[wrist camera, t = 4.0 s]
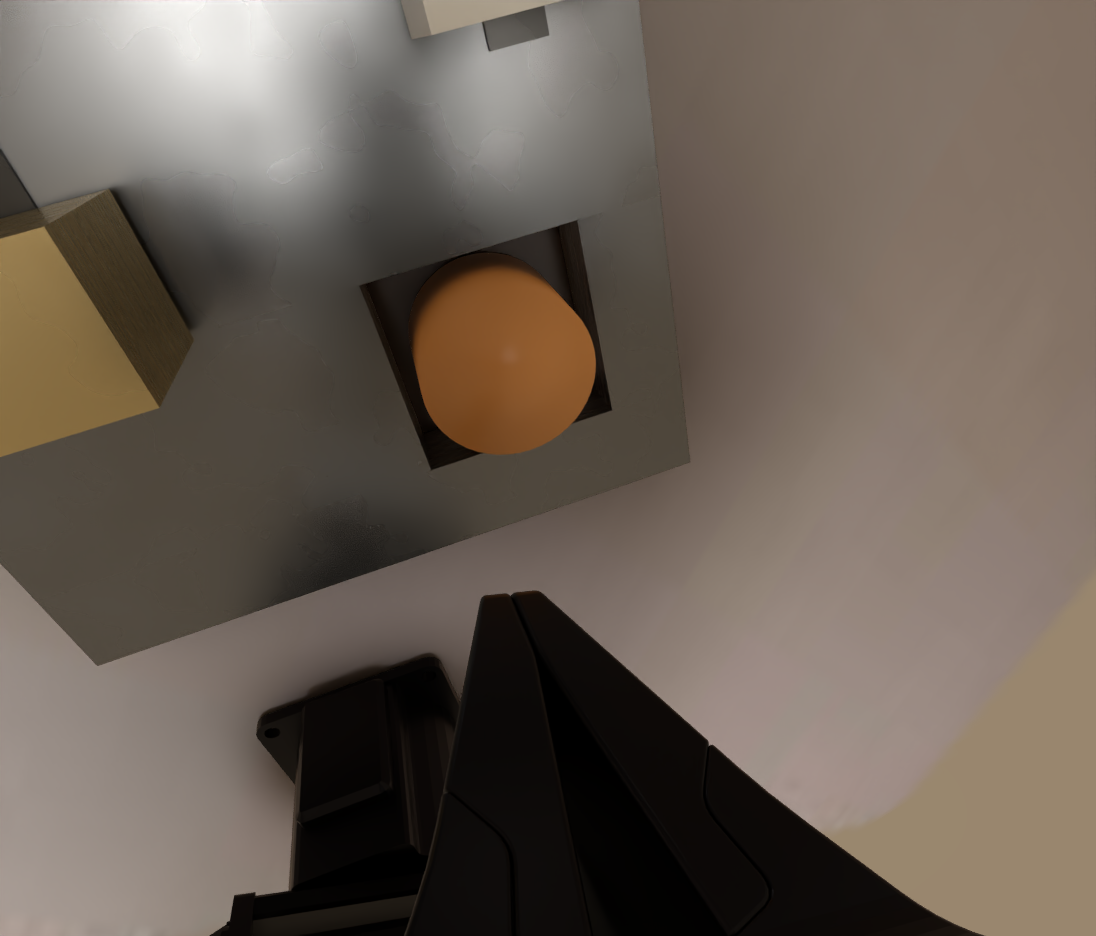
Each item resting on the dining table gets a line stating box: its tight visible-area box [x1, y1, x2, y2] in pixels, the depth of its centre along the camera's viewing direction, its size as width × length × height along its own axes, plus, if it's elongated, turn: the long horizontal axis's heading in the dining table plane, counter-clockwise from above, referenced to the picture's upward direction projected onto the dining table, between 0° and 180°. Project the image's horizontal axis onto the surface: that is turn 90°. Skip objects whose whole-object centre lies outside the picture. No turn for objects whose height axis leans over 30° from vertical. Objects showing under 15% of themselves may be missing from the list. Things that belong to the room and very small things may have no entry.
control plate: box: [0, 0, 690, 666], centre depth 13 cm, size 22×17×2 cm
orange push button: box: [408, 253, 596, 455], centre depth 16 cm, size 4×4×3 cm
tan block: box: [0, 189, 194, 457], centre depth 11 cm, size 3×4×3 cm
